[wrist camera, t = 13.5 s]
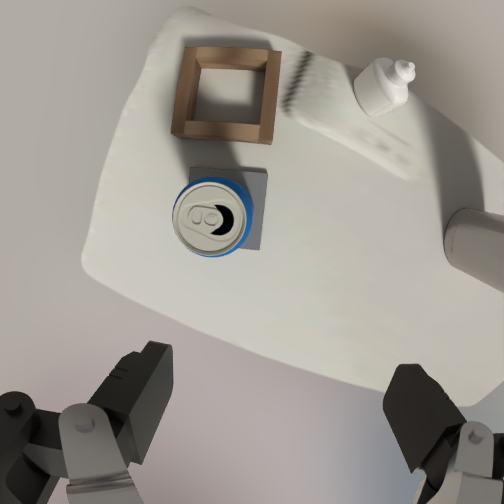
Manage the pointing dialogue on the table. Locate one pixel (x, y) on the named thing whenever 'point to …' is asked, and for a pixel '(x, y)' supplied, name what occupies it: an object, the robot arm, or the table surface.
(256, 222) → the rubber mat
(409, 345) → the table surface
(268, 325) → the table surface
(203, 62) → the walnut collar
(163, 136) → the table surface
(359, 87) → the eye dropper bottle
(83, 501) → the robot arm
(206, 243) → the beverage can
